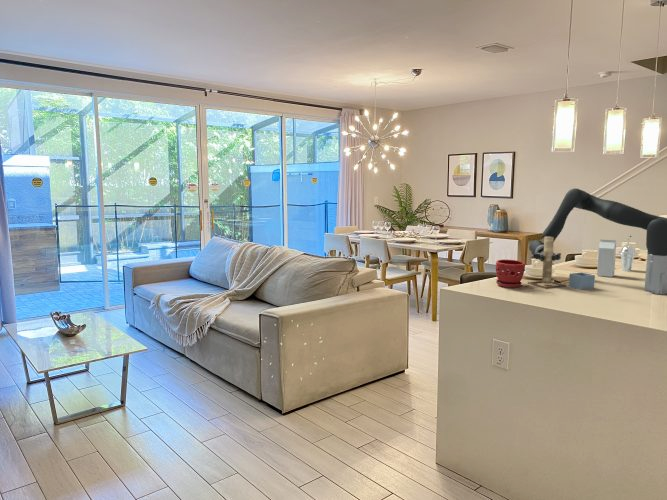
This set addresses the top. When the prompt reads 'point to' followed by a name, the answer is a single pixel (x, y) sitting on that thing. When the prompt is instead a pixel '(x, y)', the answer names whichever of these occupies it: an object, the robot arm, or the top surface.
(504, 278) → the plant pot
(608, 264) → the milk carton
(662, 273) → the robot arm
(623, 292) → the top surface
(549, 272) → the oak dowel
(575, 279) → the blue cube
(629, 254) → the cup with straw
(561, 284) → the walnut tray
